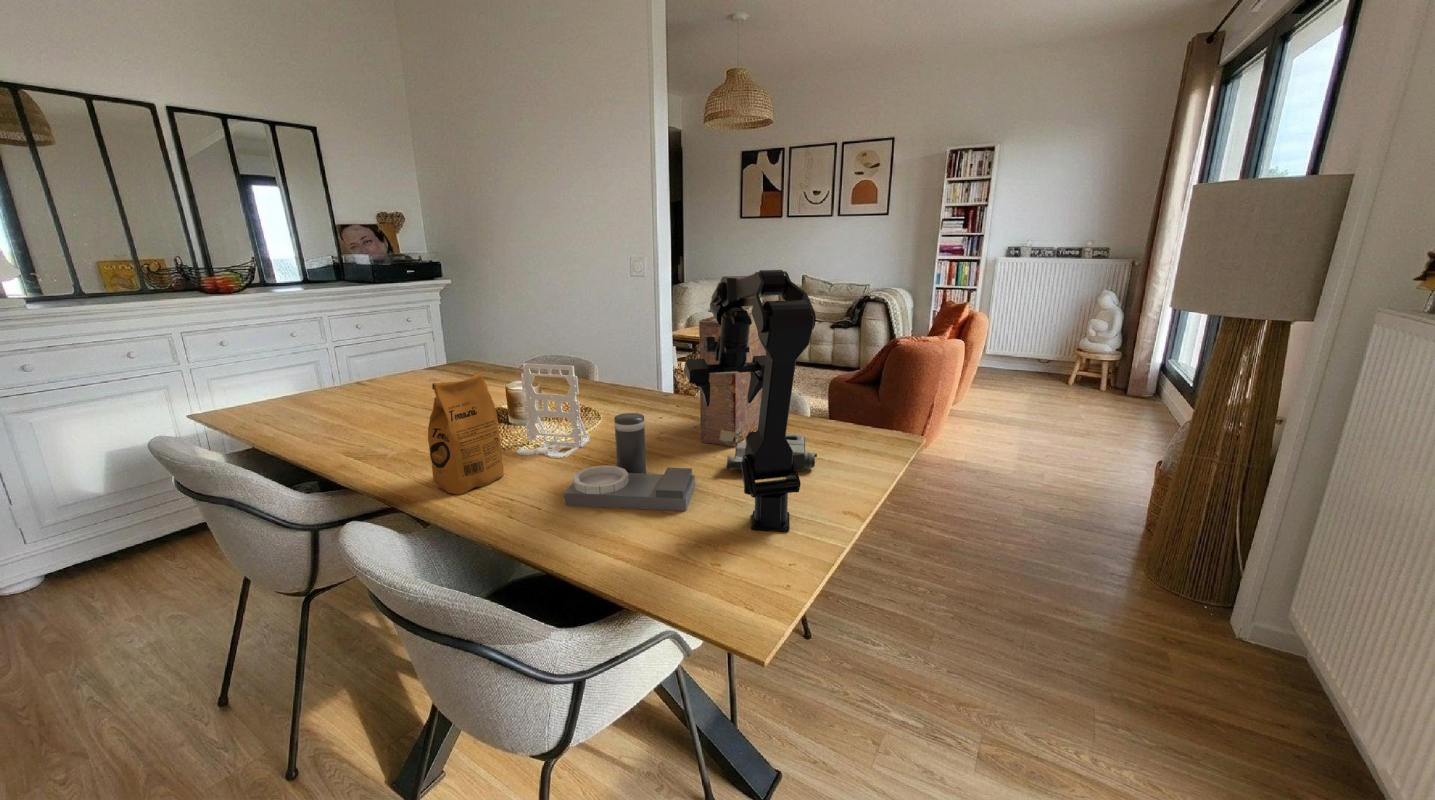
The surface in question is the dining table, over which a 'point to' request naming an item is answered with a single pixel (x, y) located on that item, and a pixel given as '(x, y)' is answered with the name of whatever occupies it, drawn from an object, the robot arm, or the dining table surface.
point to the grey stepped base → (631, 489)
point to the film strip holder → (552, 412)
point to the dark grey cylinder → (630, 442)
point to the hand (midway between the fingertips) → (728, 404)
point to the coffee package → (464, 436)
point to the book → (728, 393)
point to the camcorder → (796, 444)
